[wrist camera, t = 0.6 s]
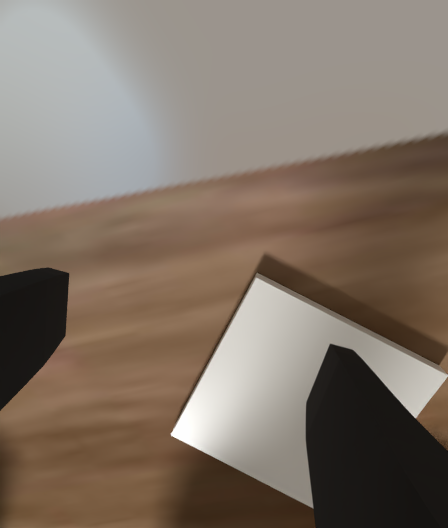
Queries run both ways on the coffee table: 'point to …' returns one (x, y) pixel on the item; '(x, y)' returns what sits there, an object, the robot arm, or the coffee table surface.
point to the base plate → (285, 384)
